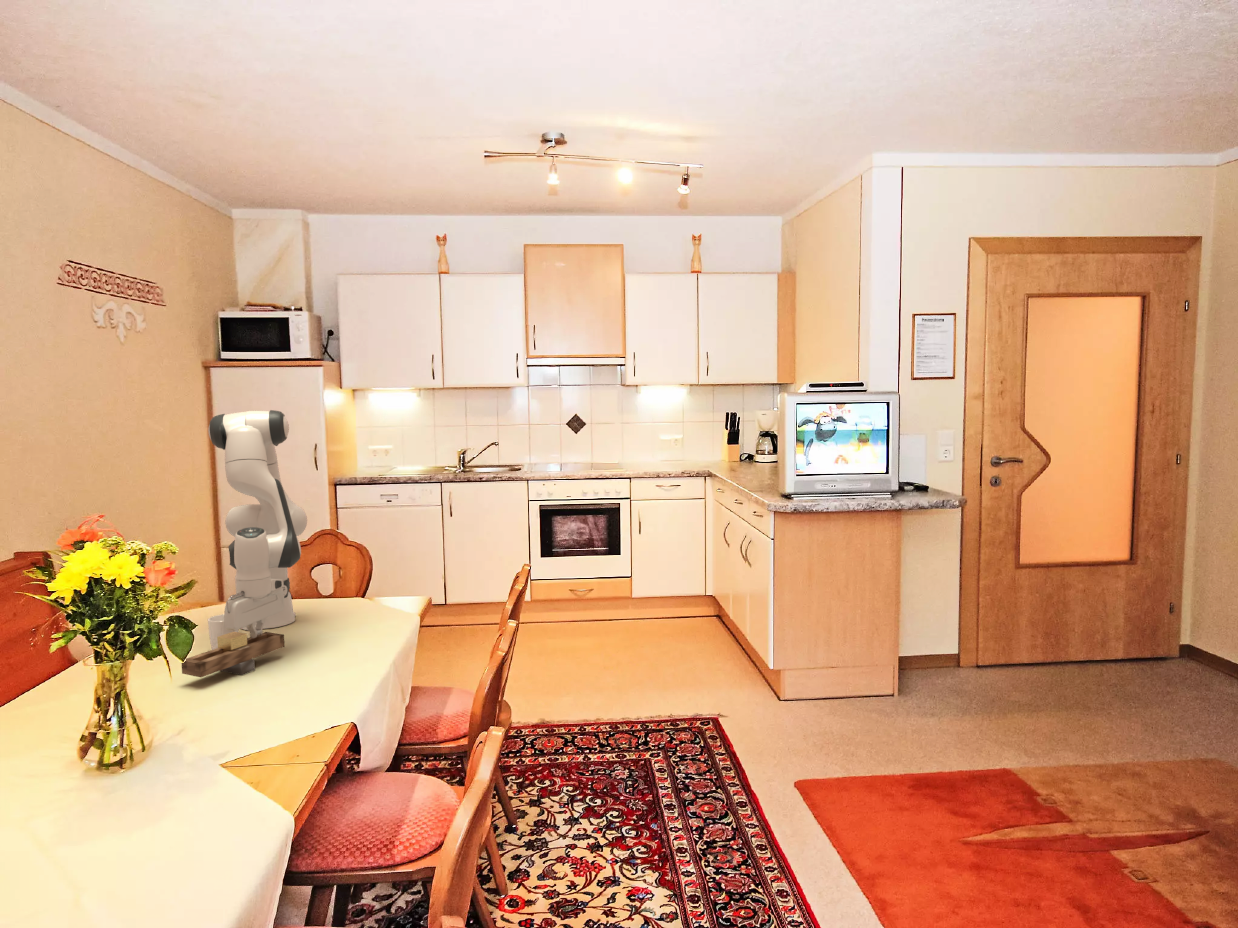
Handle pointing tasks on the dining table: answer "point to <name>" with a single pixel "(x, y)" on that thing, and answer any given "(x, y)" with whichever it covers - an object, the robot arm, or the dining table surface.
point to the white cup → (217, 629)
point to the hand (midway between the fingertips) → (256, 636)
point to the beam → (233, 657)
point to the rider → (232, 641)
